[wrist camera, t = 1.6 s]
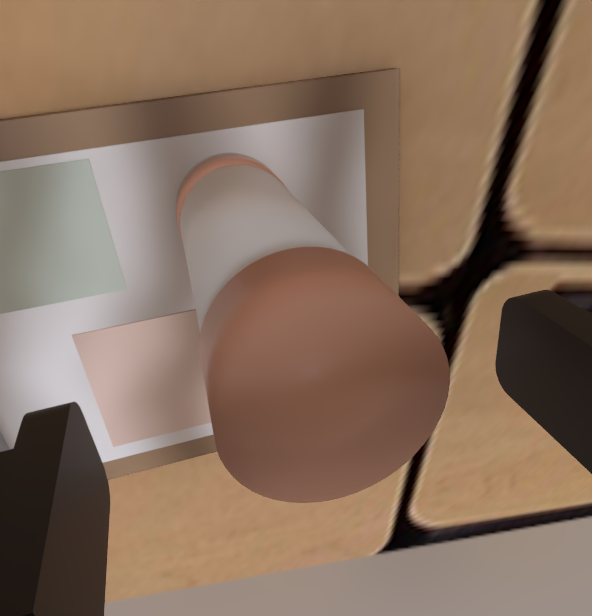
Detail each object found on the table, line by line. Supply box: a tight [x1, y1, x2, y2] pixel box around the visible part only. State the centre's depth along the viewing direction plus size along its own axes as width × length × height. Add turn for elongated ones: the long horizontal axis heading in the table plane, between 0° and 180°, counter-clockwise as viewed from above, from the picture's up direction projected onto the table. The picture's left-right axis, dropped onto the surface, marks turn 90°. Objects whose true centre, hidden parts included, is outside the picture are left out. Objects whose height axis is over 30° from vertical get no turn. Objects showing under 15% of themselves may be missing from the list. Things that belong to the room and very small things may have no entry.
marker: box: [176, 153, 450, 503], centre depth 14 cm, size 4×4×12 cm
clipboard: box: [0, 68, 400, 480], centre depth 21 cm, size 20×16×1 cm
